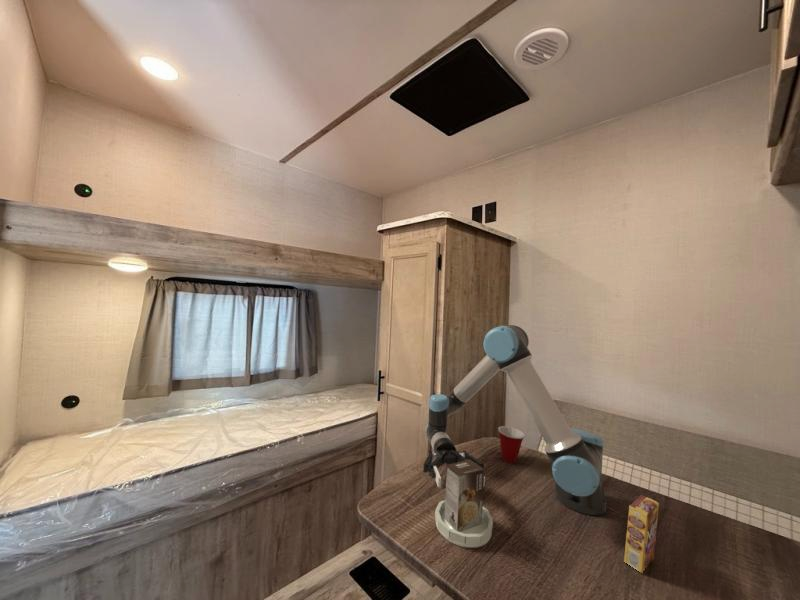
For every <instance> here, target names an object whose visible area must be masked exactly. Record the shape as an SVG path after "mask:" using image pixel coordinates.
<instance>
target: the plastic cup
mask: <svg viewBox="0 0 800 600" xmlns="http://www.w3.org/2000/svg"><path fill="white" fill-rule="evenodd" d="M497 429H498V434H499V442H500V444H499V445H500V451H501V459H502V460H503V461H505V462H506V463H510V464H511V463H512V464H513V463H516V462H517V460H518V456H519V453H520V450H521V446H522V442H523V440H524V439H525V437H526V435H525V433H524V432H522V431H521V430H520V429H517V428H514V427H512V426H507V425H506V426H505V425H502V426H499V427H498V428H497Z"/></svg>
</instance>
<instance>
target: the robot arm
mask: <svg viewBox="0 0 800 600" xmlns="http://www.w3.org/2000/svg"><path fill="white" fill-rule="evenodd" d="M529 342H530V341H529V336H528V333H527V332H526V330H525V329H523V328H522V327H520V326H517V325H514V324H513V325H512V324H509V325H498V326H497V327H494V328H491V329H490V330H489V331H488V332H487V333H486V335H485V336H484V339H483V349H484V352H485V354H486V355H484V357H483V358H482V359H481V360H480V361H479V362H478V363H477V364H476V365H475V366H474V368H472V369H471V371H469V373H468V374H467V375H465V377H464V378H463V379H462V380H460V382H459V383H458V384H457V385H456V386H455V387H454V388H453V389H452V390H451V391H450V392H449V393H448V394H447V395H445V394H442V393H441V394H440V393H439V394H438V393H437V394H434V393H433V394H432V395H431V396H430V398H429V404H428V406H429V408H428V422H427V423H428V424H427V425H426V427H425V434H426V438H427V439H428V441H429V443H430V446H431V448H432V450H433V451H432V450H428V452H427V453H428V455H427V457H426V459H425V460H424V461H423V466H422V467H423V468H422V470H423V473H424V474H425V473H428V476H430V477H431V479H434V480H435V482H436V485H437V488H441V487H442V476H441V475H440V472H439V470H438V469H439V468H440V467H443V466H444V465H445V464H446V465H449V464H453V463H457V462H461V461H465V460H472V461H473V462H474V463H476V464H478V465H479V466H480V467H482V468H483V469H484V470H485V463H484V462H482V461H481V460H479V459H477V458H476V457H475V456H473V455H471V454H469V453H468V451H466V450H463V451H462V453H461V452H459V451H458V450H457V449H456V446H455V445H454V443H453V441H452V440H451V438H450V436H449V434H448V432H447V431H448V418H449V417H450V416H452V415H453V414H455V413H457V412H459V411H461V410H462V409H463V408H464V407H465V406H466V404H467V403H468V401H470V399H472V398H473V397H474V396H475V394H477V393H478V392H479V391H480V390H481V389H482V388H483V387H484V386H485V385H486V384H487V383H488V382H489V381H490V380H491V379H492V378H493V377H494V376H495V375H496V374H497V373H498V372H499V371H502V372H504V373H506V374H507V375H508V377H509V379H510V381H511V382H512V384H513V386H514V387H515V390H516V391H517V393H518V396H519V397H520V398H521V400H522V402H523V404H524V406H525V408H526V409H527V411H528V413H529V415H530V417H531V418H532V420H533V422H534V424H535V426H536V427H537V429H538V431H539V433H540V434H541V436H542V438H543V440H544V441H545V447H544V452H545V453H546V455H547V457H548V459H549V461H550V463H551V464H552V467H551V474H552V477H553V479H554V481H555V484H554V489H553V490H554V496H555V497H556V498H557V500H558V501H559V502H560V503H562V505H564V506H565V507H568V508H569V509H571V510H573V511H576V512H577V513H580V514H584V515H588V516H601V515H604V514H605V513H606V511H607V500H606V496H605V492H604V489H603V486H602V473H603V472H602V471H603V456H604V455H603V454H604V447H605V446H604V439H603V438H602V437H601V436H599V435H598V434H595V433H593V432H591V431H587V430H583V429H580V428H579V429H578V428H574V427H573V428H572V427H570V425H568V423H567V421H566V419H565V417H564V416H563V415H562V412H561V411H560V409H559V407H558V406H557V404H556V403H555V401H554V399H553V397H552V396H551V394H550V392H549V390H548V389H547V388H546V385H545V384H544V382H543V381H542V379H541V377H540V376H539V374H538V372H537V371H536V369H535V367H534V365H533V364H532V357H533V354H532V353H531V351H530V349H529V348H528V347H529V345H530V344H529ZM485 483H486V477H485V476H484V486H483V488H484V487H486V486H485V485H486V484H485Z"/></svg>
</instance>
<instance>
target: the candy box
mask: <svg viewBox="0 0 800 600" xmlns="http://www.w3.org/2000/svg"><path fill="white" fill-rule="evenodd" d="M659 506H660V504H659V502H658V501H656V500H654V499H652V498H650V497H647V496H645V495H642V494H640V495H639V496H638V497H637V498H636V499H635V500H634V501H633V502H632V503H631V504H629V506H628V515H627V516H628V517H627V526H626V528H627V529H626V533H625V534H626V535H625V536H626V537H625V546H624V556H623V557H624V558H623V563H624V562H625V563H624V564H626V563H627V564H628V566H629V565H630V566H631V568H632V567H633V568H634V569H633V568H632V569H633V570H635V569H636V570H637V571H636V570H635V571H636V572H638V571H639V572H641V573H642V574H643V573H644V572H645V570H646V569H647V568H648V566H649V565H650V564H651V563H650V561H651V560H652V559H653V558H654V559H655V551H656V542H657V540H656V539H657V528H658V517H659V516H658V515H659ZM654 559H653V560H654ZM653 560H652V561H653ZM652 561H651V562H652ZM649 563H650V564H649ZM627 564H626V565H627ZM648 564H649V565H648ZM647 565H648V566H647ZM630 566H629V567H630ZM646 567H647V568H646ZM645 568H646V569H645ZM643 571H644V572H643ZM639 572H638V573H639ZM641 573H640V574H641Z"/></svg>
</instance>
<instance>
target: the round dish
mask: <svg viewBox="0 0 800 600" xmlns="http://www.w3.org/2000/svg"><path fill="white" fill-rule="evenodd" d="M444 517H445V498H444V499H443V500H441V501H439V502H438V504H437V506H436V508H435V512H434V519H435V527H436V528H437V531H438V532H439V533H440V535H441V536H442V537H443V538H444V539H445V540H447V541H448V542H450V543H452V544H454V545H456V546H458V547H461V548H466V549H468V548H469V549H475V548H480V547H484V546H485V545H487V544H488V543H489V541H490V540H491V538H492V535H493V528H494V527H493V526H494V525H493V524H494V519H493V517H492V515H491V513H490V512H489V510H488V509H487V508H486V507H485V506H483V507H482V524H480V525H477V526H475V527H472V528H469V529H467V530H464V531H461V532H459V531H456V530H454V529H453V528H452V527H451V525H450V524H449V523H448V522H447V521H446V520H445V518H444Z"/></svg>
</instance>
